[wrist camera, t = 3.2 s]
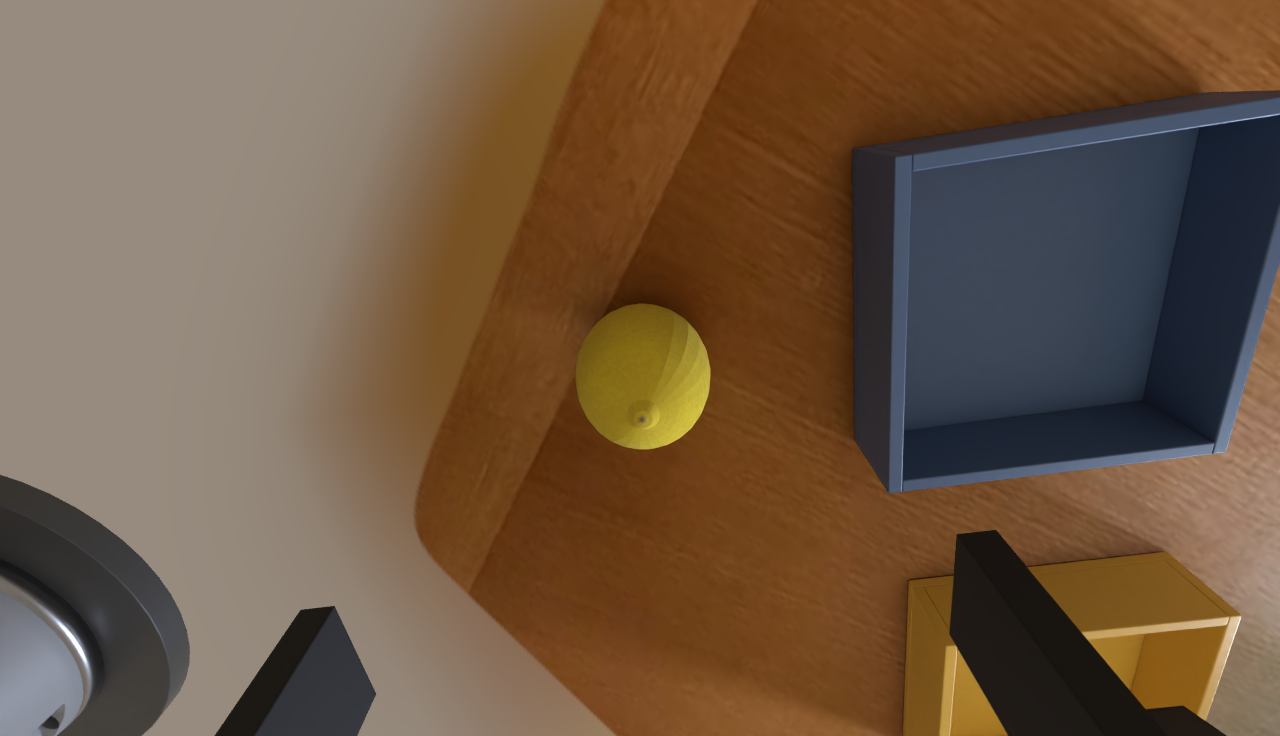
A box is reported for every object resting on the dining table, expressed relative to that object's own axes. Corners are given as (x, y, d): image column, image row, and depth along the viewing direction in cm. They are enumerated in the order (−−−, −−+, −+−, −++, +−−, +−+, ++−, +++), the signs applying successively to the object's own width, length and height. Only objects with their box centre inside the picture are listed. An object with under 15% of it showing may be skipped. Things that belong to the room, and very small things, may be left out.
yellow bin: (902, 742, 40) (933, 817, 35) (908, 579, 34) (946, 646, 30) (1122, 720, 39) (1181, 795, 35) (1166, 551, 33) (1242, 615, 29)
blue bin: (854, 440, 30) (888, 493, 26) (851, 148, 25) (895, 156, 21) (1143, 403, 29) (1226, 452, 25) (1208, 91, 24) (1330, 88, 20)
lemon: (646, 257, 27) (647, 314, 19) (724, 342, 28) (753, 424, 21) (560, 335, 28) (531, 415, 21) (639, 412, 30) (638, 511, 22)
